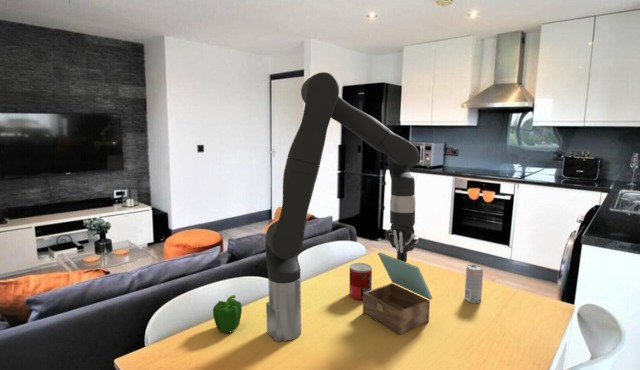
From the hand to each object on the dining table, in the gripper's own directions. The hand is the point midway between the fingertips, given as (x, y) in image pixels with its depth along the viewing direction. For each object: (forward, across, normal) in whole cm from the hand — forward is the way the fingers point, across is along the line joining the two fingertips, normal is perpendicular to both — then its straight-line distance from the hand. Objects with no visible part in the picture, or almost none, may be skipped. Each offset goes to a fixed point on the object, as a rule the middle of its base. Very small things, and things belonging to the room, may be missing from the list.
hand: (401, 262), depth 116 cm
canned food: (+18, -18, -2) cm, 25 cm away
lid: (+5, 0, +1) cm, 5 cm away
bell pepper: (+17, -24, -49) cm, 57 cm away
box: (+18, 0, -3) cm, 18 cm away
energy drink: (+19, +7, +28) cm, 34 cm away
